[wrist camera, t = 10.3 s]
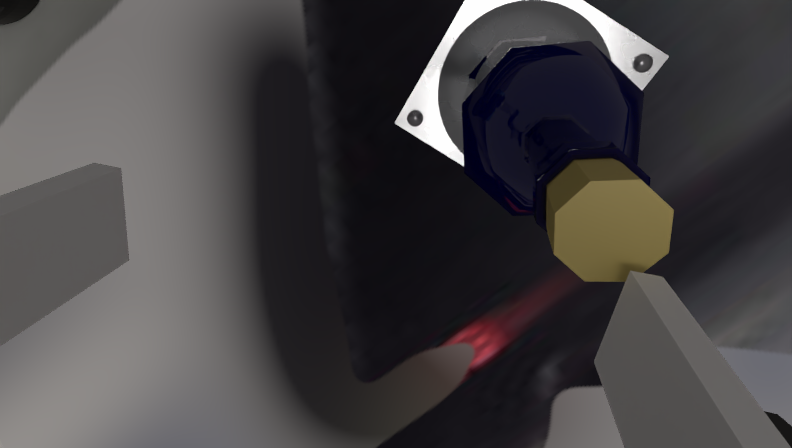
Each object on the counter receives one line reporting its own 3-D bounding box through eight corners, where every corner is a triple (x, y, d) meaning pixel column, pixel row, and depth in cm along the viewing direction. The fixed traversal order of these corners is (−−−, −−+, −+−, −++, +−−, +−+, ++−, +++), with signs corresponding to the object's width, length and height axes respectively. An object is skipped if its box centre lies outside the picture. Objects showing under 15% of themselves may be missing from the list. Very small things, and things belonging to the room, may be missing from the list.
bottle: (449, 128, 41) (380, 317, 14) (489, 17, 37) (503, -33, 10) (551, 163, 41) (692, 431, 13) (601, 54, 37) (943, 111, 9)
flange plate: (395, 122, 43) (392, 125, 42) (496, -55, 37) (497, -59, 35) (542, 213, 44) (544, 219, 43) (666, 56, 38) (674, 57, 36)
